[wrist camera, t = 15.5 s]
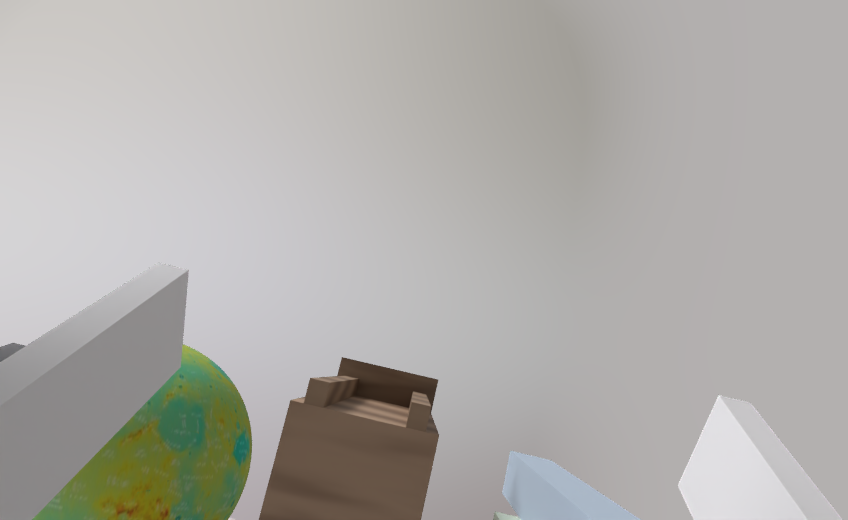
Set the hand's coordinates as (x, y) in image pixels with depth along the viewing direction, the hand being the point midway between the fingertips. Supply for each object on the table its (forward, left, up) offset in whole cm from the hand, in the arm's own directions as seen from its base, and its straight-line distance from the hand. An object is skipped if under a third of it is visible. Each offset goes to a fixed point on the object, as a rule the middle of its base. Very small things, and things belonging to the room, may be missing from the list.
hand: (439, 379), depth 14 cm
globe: (-49, +52, -33) cm, 79 cm away
